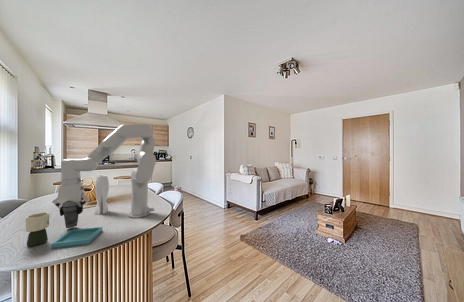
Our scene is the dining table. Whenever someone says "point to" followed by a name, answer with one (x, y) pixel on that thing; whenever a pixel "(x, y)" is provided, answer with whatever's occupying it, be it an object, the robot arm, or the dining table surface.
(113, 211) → the dining table surface
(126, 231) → the dining table surface
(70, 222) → the beverage cup
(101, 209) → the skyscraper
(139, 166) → the robot arm
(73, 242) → the tray
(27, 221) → the character mug
